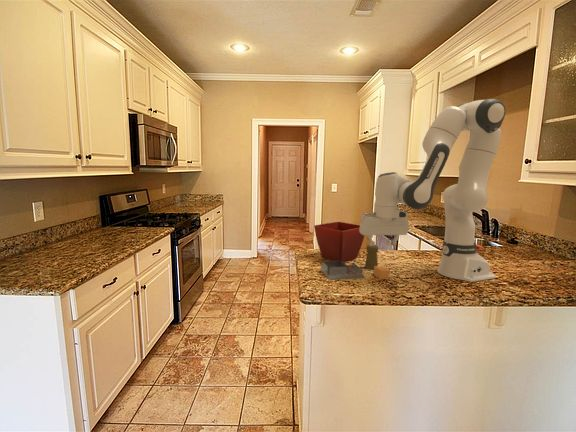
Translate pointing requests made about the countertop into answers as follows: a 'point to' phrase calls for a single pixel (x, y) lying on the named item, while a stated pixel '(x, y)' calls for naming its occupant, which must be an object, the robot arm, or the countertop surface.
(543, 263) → the countertop surface
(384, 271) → the bracket block
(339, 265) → the grey tray with frame
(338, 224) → the plant pot
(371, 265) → the cork
